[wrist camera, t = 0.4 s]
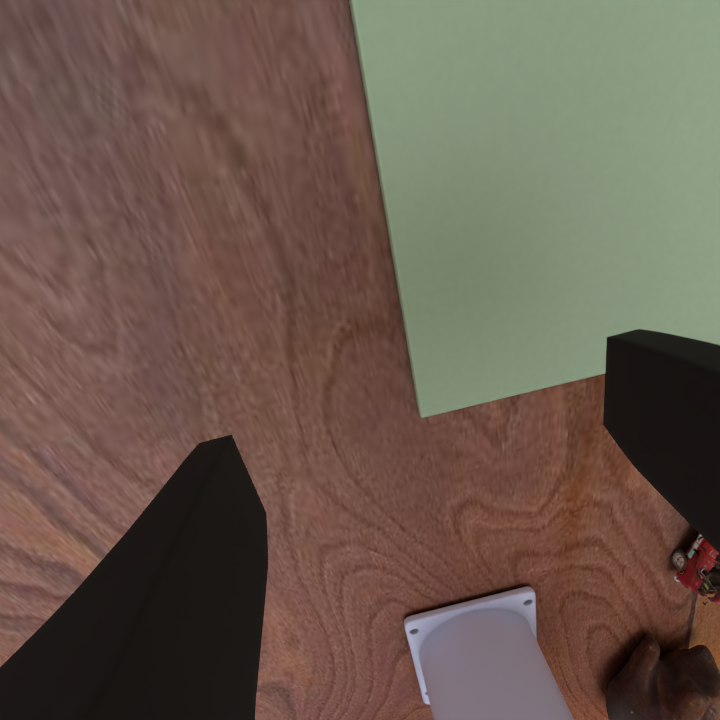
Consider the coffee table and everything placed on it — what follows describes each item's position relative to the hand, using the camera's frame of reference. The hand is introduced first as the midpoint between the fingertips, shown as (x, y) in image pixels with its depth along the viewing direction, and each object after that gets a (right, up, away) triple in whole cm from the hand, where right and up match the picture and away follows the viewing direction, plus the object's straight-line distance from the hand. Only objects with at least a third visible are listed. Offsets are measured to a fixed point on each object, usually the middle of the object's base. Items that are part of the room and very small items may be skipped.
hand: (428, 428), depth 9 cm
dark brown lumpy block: (+19, -21, +25) cm, 38 cm away
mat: (+8, +9, +8) cm, 15 cm away
